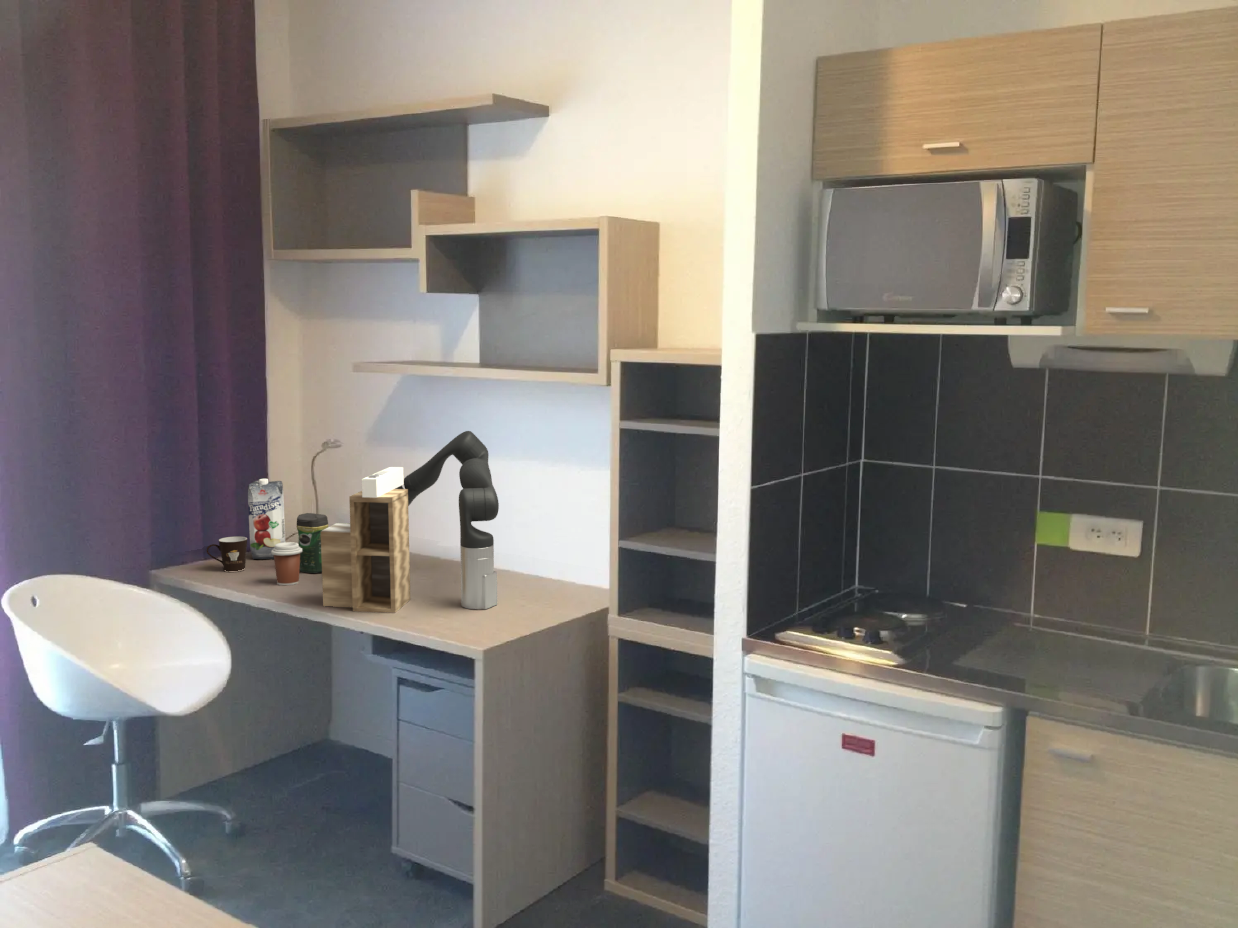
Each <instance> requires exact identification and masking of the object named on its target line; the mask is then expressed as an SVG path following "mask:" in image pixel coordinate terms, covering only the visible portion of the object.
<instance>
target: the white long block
mask: <svg viewBox="0 0 1238 928" xmlns="http://www.w3.org/2000/svg"><path fill="white" fill-rule="evenodd" d="M404 478H405V476H404V466H389V467H386V468H384V469H382V470H379V471H377V472H375V473H373V474H370V475H368V476H366V477H364V478H361V491H362V497H370V498H377V497H379V496H381V495H383V494H385V493H387V492H389V491H391V490H393V489H395V488H397V487H399V486H401V485H402V486H404Z"/></svg>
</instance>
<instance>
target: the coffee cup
mask: <svg viewBox="0 0 1238 928" xmlns="http://www.w3.org/2000/svg"><path fill="white" fill-rule="evenodd" d="M300 553H302V548H300V547H299V542H293V541H292V542H291V541H285V542H284V543H278V544H275V548H274V549H273V550H272V551H271V554H273V555H274V560H273V562H274V567H275V568H274V569H275V575H276V576H275V577H276V584H277V585H278V584H279V585H278V586H281V585H289V586H295V585H298V584H299V583H300V571H299V568H300ZM297 583H298V584H297ZM294 584H295V585H294Z"/></svg>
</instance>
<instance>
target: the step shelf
mask: <svg viewBox="0 0 1238 928" xmlns="http://www.w3.org/2000/svg"><path fill="white" fill-rule="evenodd" d="M409 518H410V515H409V506H408V489H405V488H404V489H393V490H391V491H389V492H387V493H385V494H383V495H381V496H379V497H377V498H370V497H362V490H360V491H358V492H356V493H353V494H351V495H349V522H348V523H347V522H336V523H334V524H332V525H330V526H328V528H326V529H324V530H322V532H321V556H322V572H321V578H322V579H321V580H322V583H321V584H322V604H323V605H322V607H325V606H333V607H334V608H352V612H358V613H359V612H361V613H365V612H367V613H397V612H398V611H399V610H400V609H402V608H403V607H404V606H405V605H406V604H408V602H409V601H411V572H410V571H411V567H410V563H411V562H410V526H409V525H410V522H409ZM333 607H332V608H333Z"/></svg>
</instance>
